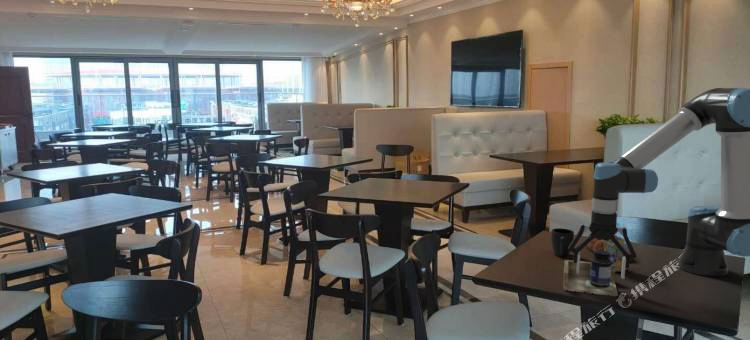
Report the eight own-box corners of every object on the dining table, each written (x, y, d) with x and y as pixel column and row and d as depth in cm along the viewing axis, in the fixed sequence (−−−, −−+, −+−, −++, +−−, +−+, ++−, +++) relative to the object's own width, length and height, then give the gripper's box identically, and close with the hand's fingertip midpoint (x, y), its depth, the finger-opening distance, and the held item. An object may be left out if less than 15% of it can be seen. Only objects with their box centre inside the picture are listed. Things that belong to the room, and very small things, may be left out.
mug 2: (629, 274, 187) (631, 245, 185) (600, 271, 190) (602, 242, 188) (626, 264, 198) (628, 236, 196) (599, 261, 201) (600, 234, 199)
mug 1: (549, 259, 203) (550, 235, 202) (550, 250, 214) (552, 227, 213) (572, 261, 200) (573, 237, 199) (572, 252, 211) (574, 229, 210)
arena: (613, 281, 180) (615, 264, 179) (617, 296, 167) (618, 278, 166) (563, 275, 185) (564, 259, 184) (563, 290, 172) (564, 272, 171)
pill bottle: (586, 281, 178) (588, 249, 176) (605, 281, 177) (607, 249, 176) (593, 287, 172) (595, 254, 170) (612, 288, 171) (615, 255, 170)
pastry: (583, 257, 206) (584, 237, 205) (586, 246, 220) (587, 227, 219) (631, 263, 199) (633, 242, 198) (631, 252, 213) (632, 232, 212)
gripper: (646, 211, 170) (640, 275, 173) (563, 205, 178) (559, 266, 182) (649, 217, 163) (643, 283, 166) (563, 210, 171) (559, 274, 175)
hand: (599, 275), depth 174 cm, fingers open, 13 cm apart
